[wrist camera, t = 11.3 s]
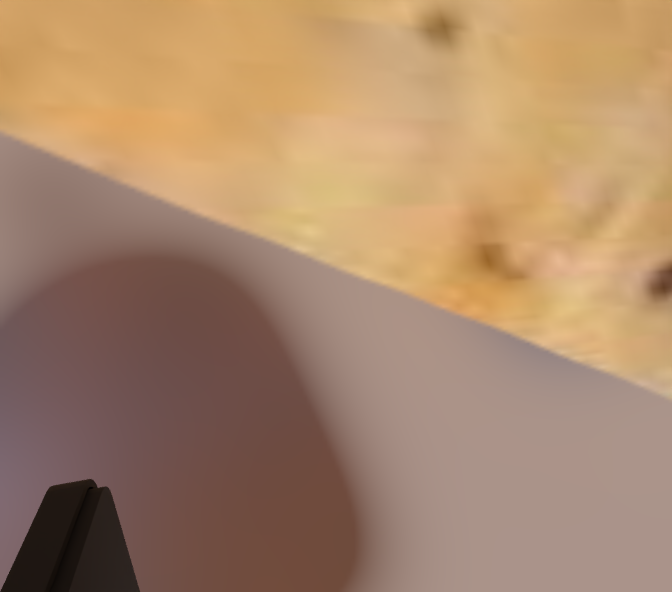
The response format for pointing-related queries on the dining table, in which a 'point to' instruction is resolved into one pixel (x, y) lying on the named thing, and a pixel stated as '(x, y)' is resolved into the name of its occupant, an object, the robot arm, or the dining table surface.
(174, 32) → the dining table surface
